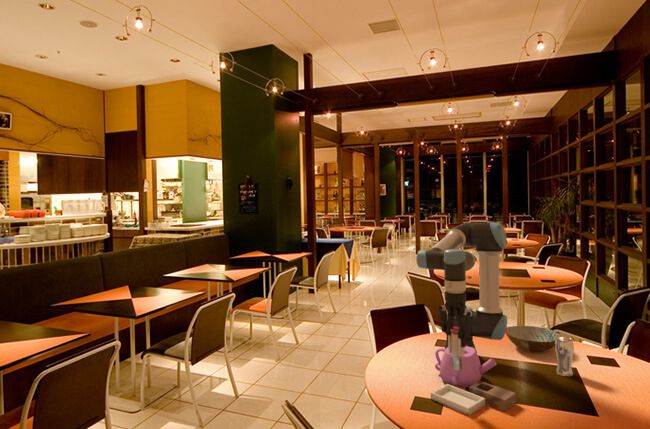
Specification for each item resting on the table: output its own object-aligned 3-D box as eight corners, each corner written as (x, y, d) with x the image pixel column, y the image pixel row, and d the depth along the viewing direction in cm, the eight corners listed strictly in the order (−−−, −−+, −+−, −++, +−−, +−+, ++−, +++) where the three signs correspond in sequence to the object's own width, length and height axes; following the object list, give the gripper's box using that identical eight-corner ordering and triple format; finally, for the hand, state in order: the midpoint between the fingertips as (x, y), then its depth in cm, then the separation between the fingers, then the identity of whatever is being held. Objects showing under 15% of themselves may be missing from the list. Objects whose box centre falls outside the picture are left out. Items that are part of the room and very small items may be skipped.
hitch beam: (469, 397, 153) (469, 387, 153) (480, 390, 158) (480, 380, 158) (505, 411, 142) (505, 400, 142) (516, 403, 147) (515, 393, 147)
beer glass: (576, 377, 167) (576, 341, 167) (558, 376, 169) (558, 341, 168) (570, 370, 174) (569, 336, 174) (552, 369, 176) (552, 335, 175)
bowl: (517, 337, 219) (516, 322, 218) (568, 348, 200) (568, 332, 200) (496, 349, 202) (496, 333, 201) (550, 362, 183) (550, 345, 183)
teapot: (430, 371, 178) (429, 339, 178) (474, 366, 181) (473, 335, 181) (450, 390, 159) (449, 355, 159) (498, 385, 162) (498, 350, 162)
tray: (430, 399, 153) (430, 392, 152) (447, 390, 159) (447, 383, 159) (468, 415, 140) (468, 408, 140) (485, 405, 147) (485, 398, 147)
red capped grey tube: (448, 368, 150) (447, 328, 149) (454, 365, 152) (454, 325, 152) (458, 371, 146) (457, 331, 146) (465, 368, 149) (464, 328, 149)
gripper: (430, 289, 153) (431, 350, 153) (470, 296, 140) (471, 362, 140) (442, 286, 158) (443, 345, 158) (481, 293, 145) (482, 357, 145)
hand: (456, 353), depth 149 cm, fingers closed on red capped grey tube, 3 cm apart
